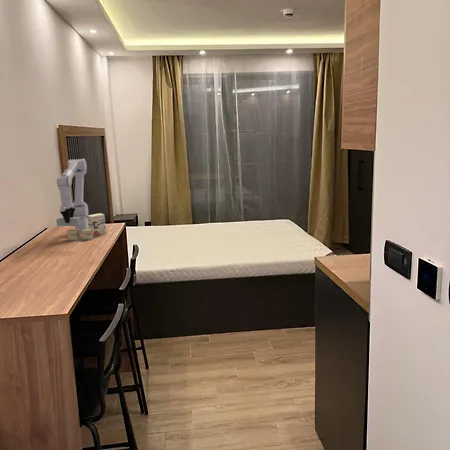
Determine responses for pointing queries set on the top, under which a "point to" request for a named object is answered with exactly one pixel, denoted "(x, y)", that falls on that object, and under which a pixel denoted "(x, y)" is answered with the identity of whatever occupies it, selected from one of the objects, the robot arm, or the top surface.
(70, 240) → the mat
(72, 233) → the cube left
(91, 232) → the cube right
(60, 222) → the lintel
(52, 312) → the top surface
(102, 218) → the ink box
